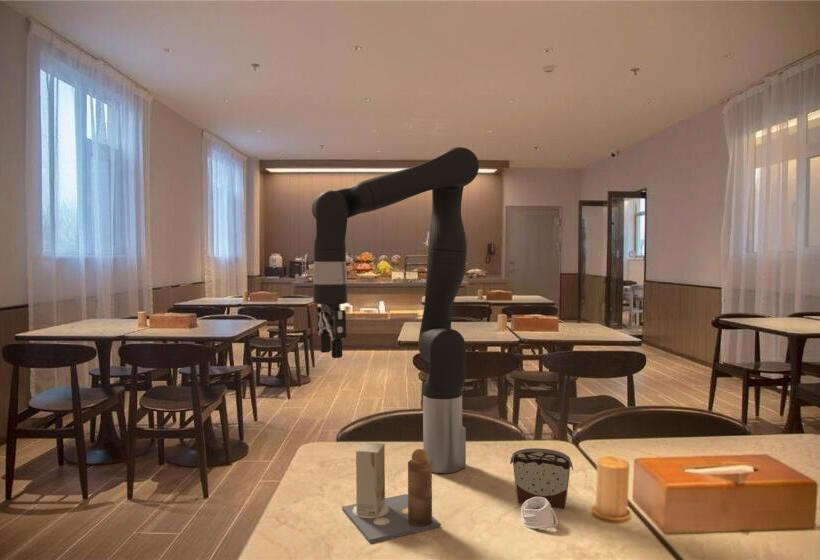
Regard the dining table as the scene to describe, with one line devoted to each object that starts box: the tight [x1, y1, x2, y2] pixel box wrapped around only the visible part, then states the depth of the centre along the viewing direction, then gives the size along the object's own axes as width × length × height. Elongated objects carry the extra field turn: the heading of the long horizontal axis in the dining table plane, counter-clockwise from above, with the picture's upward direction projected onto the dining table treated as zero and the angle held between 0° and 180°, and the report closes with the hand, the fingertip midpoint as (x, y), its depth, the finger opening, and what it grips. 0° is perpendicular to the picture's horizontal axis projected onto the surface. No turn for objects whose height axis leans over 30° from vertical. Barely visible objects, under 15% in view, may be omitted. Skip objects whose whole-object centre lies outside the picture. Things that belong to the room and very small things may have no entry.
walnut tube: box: [407, 448, 433, 527], centre depth 107 cm, size 4×4×14 cm
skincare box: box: [355, 442, 386, 516], centre depth 112 cm, size 6×4×12 cm
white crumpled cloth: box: [520, 497, 559, 530], centre depth 107 cm, size 8×7×5 cm
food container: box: [509, 447, 574, 511], centre depth 117 cm, size 12×6×10 cm, turn 71°
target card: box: [341, 493, 442, 544], centre depth 110 cm, size 14×15×1 cm
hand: (330, 354), depth 129 cm, fingers open, 8 cm apart
